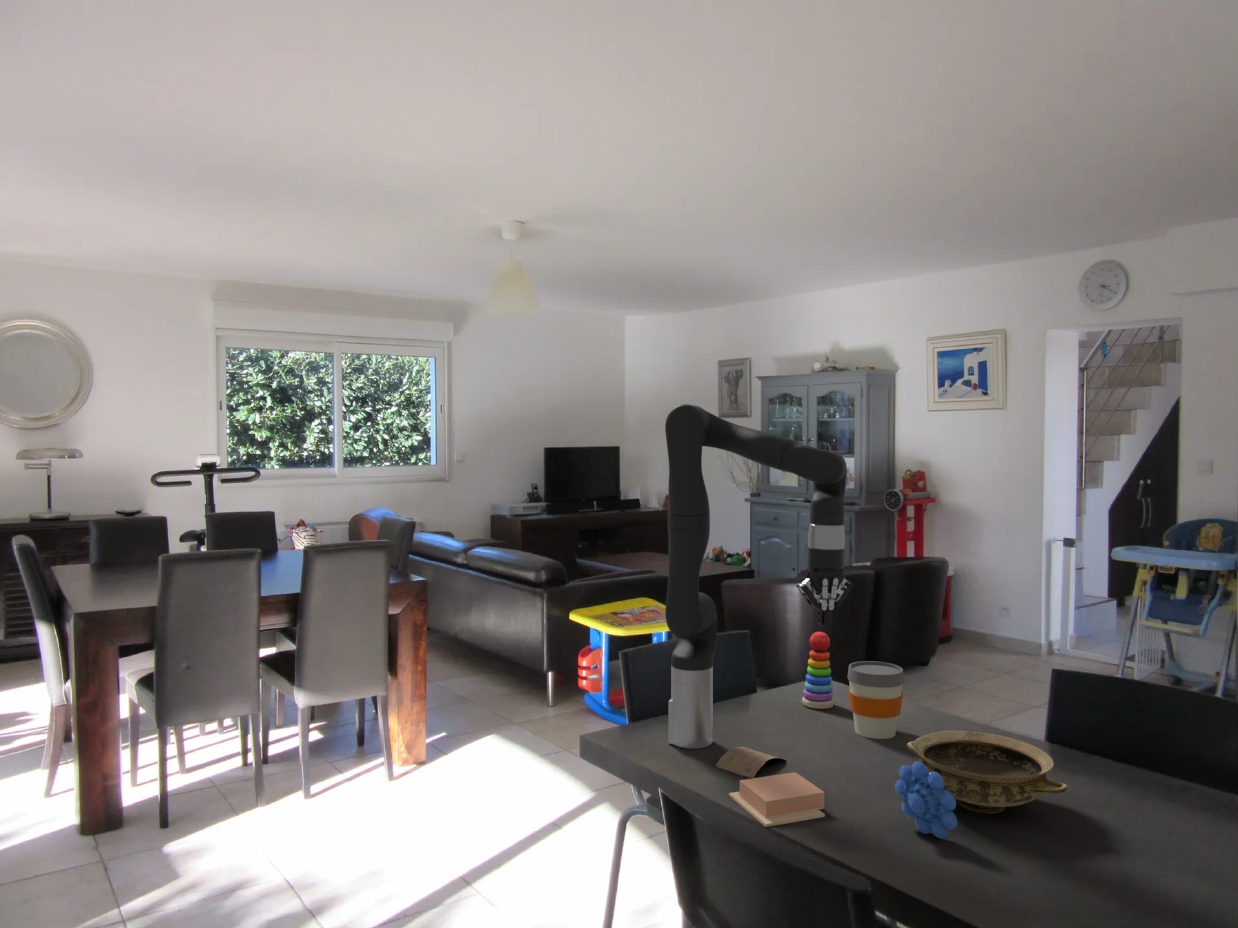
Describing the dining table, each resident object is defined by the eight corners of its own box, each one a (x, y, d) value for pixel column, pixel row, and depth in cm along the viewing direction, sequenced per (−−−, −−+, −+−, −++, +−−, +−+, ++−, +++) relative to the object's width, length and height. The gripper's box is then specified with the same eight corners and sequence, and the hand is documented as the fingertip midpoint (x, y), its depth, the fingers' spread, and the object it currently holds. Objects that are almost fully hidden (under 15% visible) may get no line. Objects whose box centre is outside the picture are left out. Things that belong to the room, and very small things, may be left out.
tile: (795, 771, 164) (739, 780, 160) (824, 791, 155) (765, 801, 151) (795, 787, 164) (739, 796, 160) (824, 808, 155) (765, 818, 151)
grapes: (880, 828, 148) (881, 759, 148) (903, 817, 152) (904, 751, 152) (941, 853, 139) (942, 781, 139) (964, 842, 143) (965, 771, 143)
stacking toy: (828, 711, 212) (829, 637, 212) (797, 706, 216) (798, 633, 216) (838, 703, 219) (838, 630, 218) (807, 698, 223) (808, 627, 222)
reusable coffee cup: (858, 719, 206) (858, 658, 206) (910, 730, 199) (911, 666, 198) (838, 734, 196) (839, 669, 195) (893, 745, 188) (893, 678, 188)
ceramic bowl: (1094, 814, 154) (1095, 759, 153) (1030, 854, 139) (1031, 793, 139) (941, 764, 177) (941, 717, 177) (872, 794, 162) (873, 742, 162)
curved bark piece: (752, 782, 169) (752, 769, 169) (710, 769, 176) (710, 756, 176) (790, 762, 180) (790, 749, 180) (749, 751, 187) (749, 738, 187)
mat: (784, 786, 166) (784, 784, 166) (824, 816, 153) (824, 813, 153) (729, 795, 162) (729, 792, 162) (765, 826, 149) (765, 824, 149)
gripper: (843, 542, 186) (841, 621, 186) (789, 544, 181) (787, 624, 182) (863, 546, 179) (861, 629, 179) (808, 548, 174) (806, 632, 175)
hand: (824, 626), depth 181 cm, fingers closed
